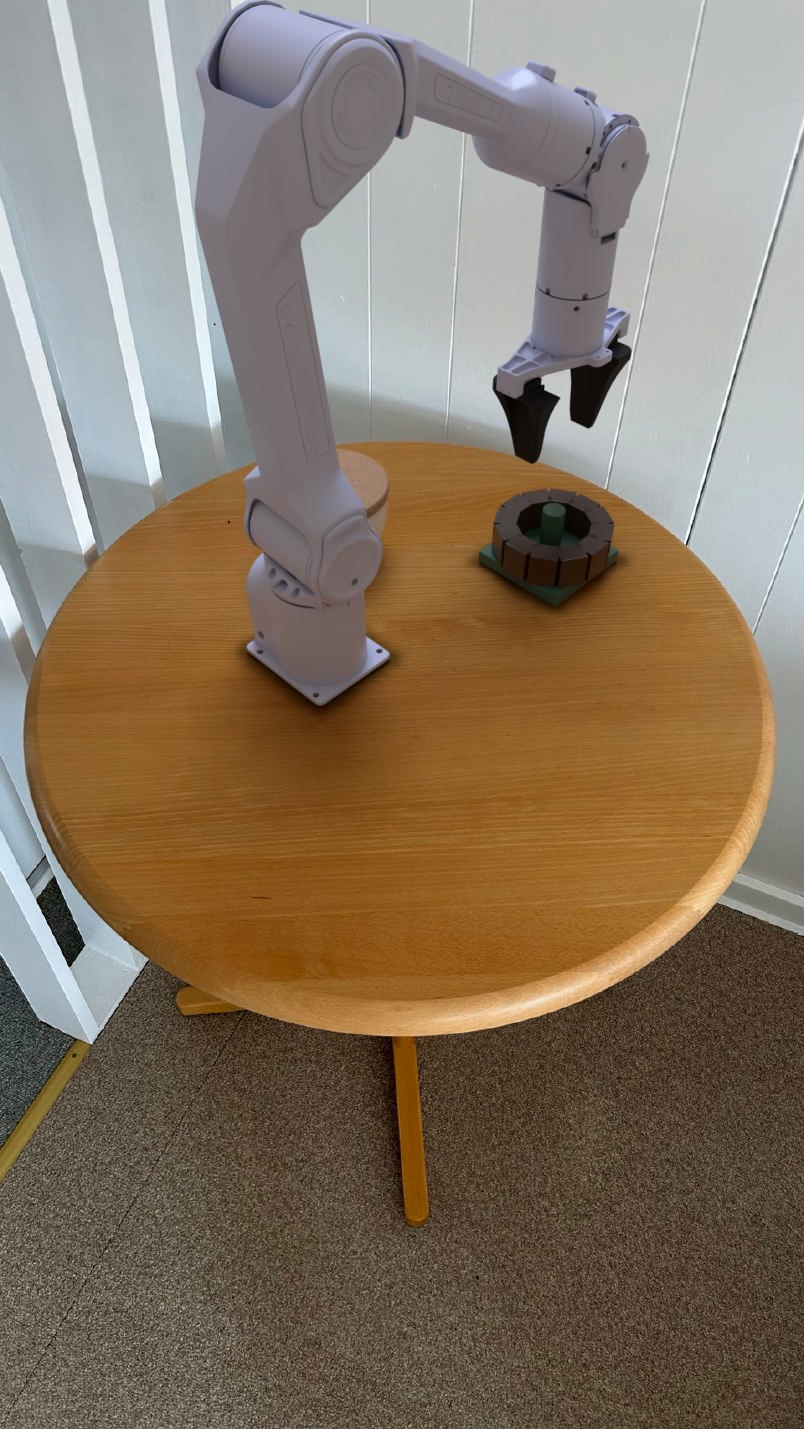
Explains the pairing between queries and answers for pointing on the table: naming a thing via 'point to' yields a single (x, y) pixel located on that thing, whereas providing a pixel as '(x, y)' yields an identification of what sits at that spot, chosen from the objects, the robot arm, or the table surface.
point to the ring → (545, 560)
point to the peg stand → (545, 535)
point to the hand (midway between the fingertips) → (554, 440)
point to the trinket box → (367, 485)
